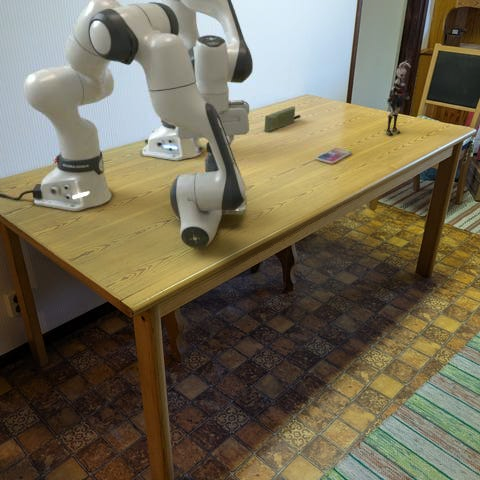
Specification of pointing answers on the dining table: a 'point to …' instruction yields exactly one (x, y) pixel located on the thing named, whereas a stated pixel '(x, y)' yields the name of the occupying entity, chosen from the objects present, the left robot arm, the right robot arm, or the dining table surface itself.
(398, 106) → the figurine
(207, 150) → the cap
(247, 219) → the dining table surface
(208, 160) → the bottle
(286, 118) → the handheld radio
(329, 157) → the smartphone
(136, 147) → the dining table surface
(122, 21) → the left robot arm
